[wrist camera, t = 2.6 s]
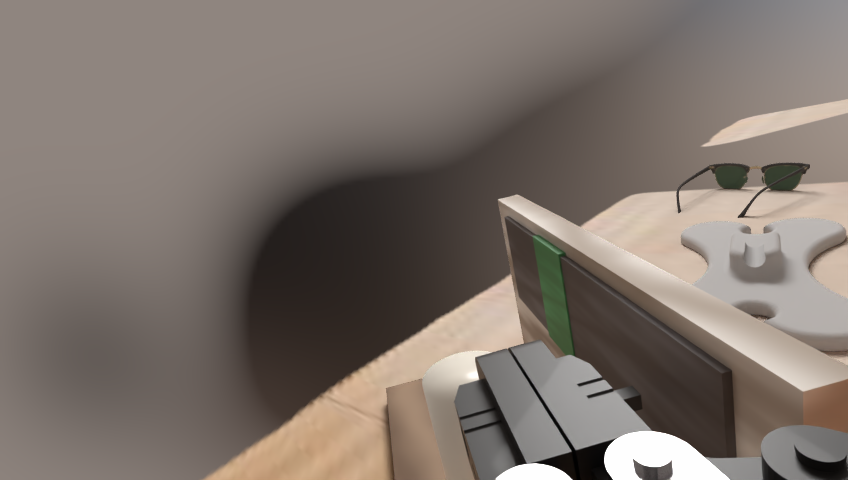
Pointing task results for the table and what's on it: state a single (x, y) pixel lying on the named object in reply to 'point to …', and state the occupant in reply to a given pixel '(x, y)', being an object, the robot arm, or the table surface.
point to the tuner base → (643, 348)
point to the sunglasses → (774, 177)
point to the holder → (775, 275)
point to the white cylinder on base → (440, 401)
